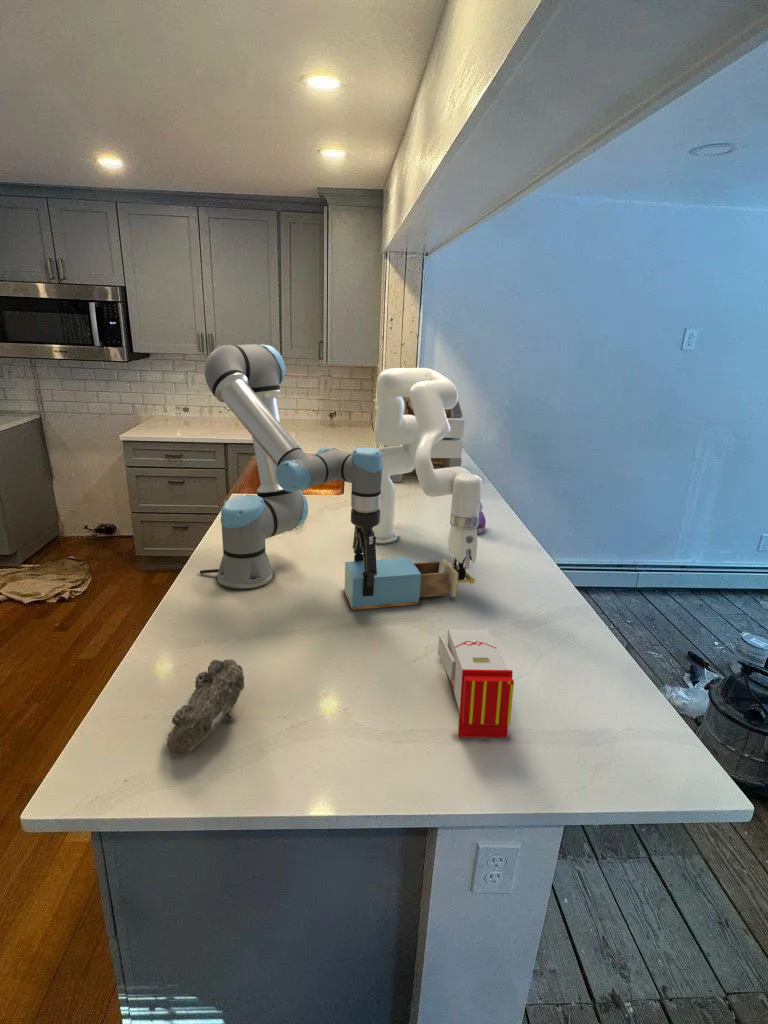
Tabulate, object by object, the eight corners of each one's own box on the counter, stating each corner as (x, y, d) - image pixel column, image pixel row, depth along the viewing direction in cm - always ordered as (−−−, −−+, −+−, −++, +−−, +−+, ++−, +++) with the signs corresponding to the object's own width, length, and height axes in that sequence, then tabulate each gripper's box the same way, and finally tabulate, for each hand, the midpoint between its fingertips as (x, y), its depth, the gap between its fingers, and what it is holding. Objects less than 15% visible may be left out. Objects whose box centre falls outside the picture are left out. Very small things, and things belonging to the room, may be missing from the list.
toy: (488, 613, 130) (523, 677, 101) (484, 667, 133) (517, 744, 104) (435, 612, 130) (455, 676, 101) (432, 666, 133) (451, 743, 103)
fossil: (192, 660, 117) (244, 628, 112) (224, 691, 120) (276, 661, 115) (142, 746, 98) (202, 712, 93) (182, 779, 101) (242, 748, 96)
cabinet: (407, 586, 163) (409, 557, 160) (418, 604, 153) (421, 573, 150) (344, 591, 158) (345, 561, 155) (352, 610, 148) (352, 579, 145)
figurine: (471, 536, 200) (475, 496, 195) (454, 527, 208) (458, 488, 203) (492, 533, 204) (497, 493, 199) (475, 523, 212) (479, 485, 207)
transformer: (382, 463, 289) (386, 382, 275) (445, 464, 293) (451, 384, 279) (390, 482, 257) (394, 392, 243) (460, 483, 261) (468, 394, 247)
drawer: (461, 580, 166) (464, 557, 163) (474, 595, 157) (477, 571, 155) (386, 585, 160) (387, 562, 158) (395, 602, 152) (397, 577, 149)
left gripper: (391, 523, 136) (387, 605, 143) (369, 494, 157) (367, 566, 164) (361, 525, 134) (358, 607, 141) (343, 495, 155) (341, 568, 162)
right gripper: (488, 529, 148) (481, 591, 154) (466, 509, 161) (461, 568, 168) (461, 530, 146) (455, 593, 152) (441, 510, 160) (437, 569, 166)
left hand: (363, 585), depth 153 cm, fingers closed on cabinet, 11 cm apart
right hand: (458, 580), depth 160 cm, fingers closed
